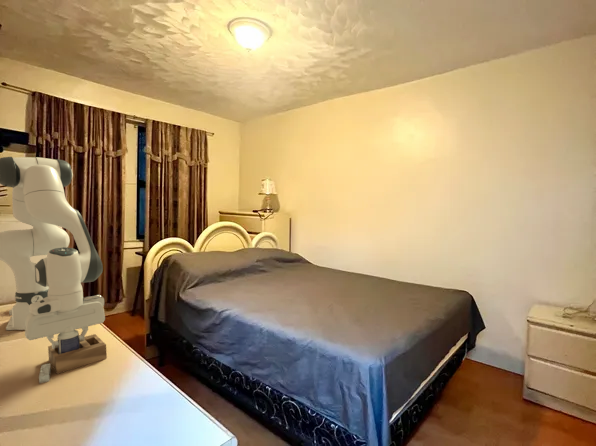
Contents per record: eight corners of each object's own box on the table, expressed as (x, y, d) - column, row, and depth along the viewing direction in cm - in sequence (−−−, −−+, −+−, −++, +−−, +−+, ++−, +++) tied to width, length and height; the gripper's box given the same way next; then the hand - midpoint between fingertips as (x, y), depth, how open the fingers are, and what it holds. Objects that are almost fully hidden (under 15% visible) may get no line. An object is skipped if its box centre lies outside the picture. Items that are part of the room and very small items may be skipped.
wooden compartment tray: (48, 360, 104) (48, 346, 103) (95, 346, 113) (95, 334, 113) (56, 373, 95) (55, 358, 95) (106, 358, 105) (106, 344, 104)
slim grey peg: (41, 372, 97) (41, 365, 97) (51, 370, 98) (50, 362, 98) (39, 384, 90) (38, 377, 90) (49, 382, 92) (48, 374, 91)
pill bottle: (83, 353, 104) (82, 323, 103) (67, 361, 99) (65, 329, 98) (71, 351, 106) (69, 321, 105) (54, 358, 101) (52, 327, 100)
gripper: (100, 291, 111) (102, 331, 112) (22, 306, 96) (25, 352, 97) (106, 295, 107) (108, 337, 108) (25, 311, 92) (28, 359, 93)
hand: (68, 344), depth 102 cm, fingers closed on pill bottle, 5 cm apart
